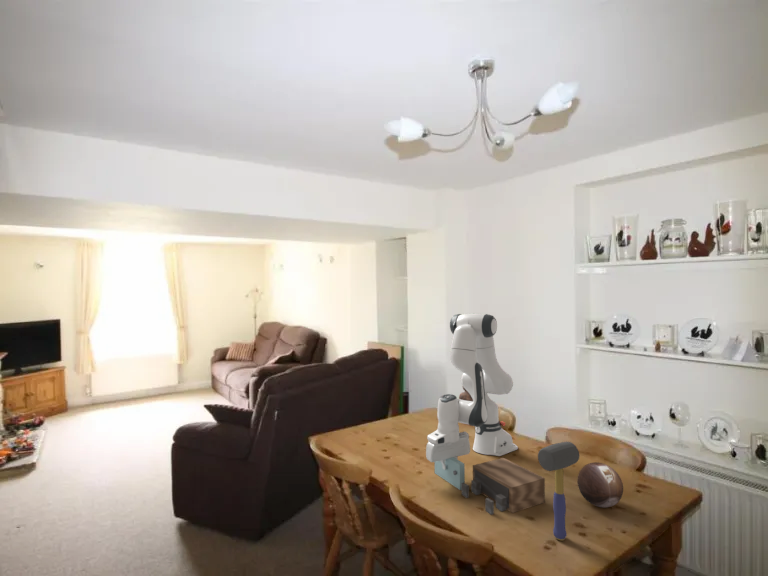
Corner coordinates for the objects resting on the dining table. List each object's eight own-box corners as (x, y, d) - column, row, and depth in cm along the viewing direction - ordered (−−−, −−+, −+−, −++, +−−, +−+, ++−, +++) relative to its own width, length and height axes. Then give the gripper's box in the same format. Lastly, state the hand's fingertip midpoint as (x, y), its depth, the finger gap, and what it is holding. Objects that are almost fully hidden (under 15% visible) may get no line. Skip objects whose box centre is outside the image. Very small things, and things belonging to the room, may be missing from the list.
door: (439, 471, 189) (438, 448, 189) (464, 488, 173) (464, 463, 173) (433, 473, 188) (432, 450, 188) (458, 490, 172) (457, 465, 172)
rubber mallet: (556, 550, 132) (555, 451, 132) (536, 538, 138) (535, 444, 138) (583, 538, 138) (581, 444, 138) (562, 527, 144) (561, 437, 144)
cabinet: (503, 479, 181) (503, 457, 181) (544, 502, 161) (544, 477, 161) (457, 492, 170) (457, 469, 170) (495, 518, 151) (495, 492, 151)
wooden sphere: (603, 519, 149) (602, 475, 149) (568, 500, 163) (568, 460, 163) (633, 509, 155) (632, 467, 155) (597, 492, 169) (596, 453, 169)
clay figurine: (472, 418, 266) (471, 377, 266) (483, 422, 257) (482, 380, 257) (455, 421, 260) (454, 379, 260) (465, 425, 251) (465, 382, 251)
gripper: (463, 428, 188) (464, 460, 188) (423, 436, 179) (424, 470, 179) (473, 432, 182) (473, 465, 182) (432, 441, 173) (432, 476, 173)
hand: (448, 468), depth 181 cm, fingers closed on door, 2 cm apart
